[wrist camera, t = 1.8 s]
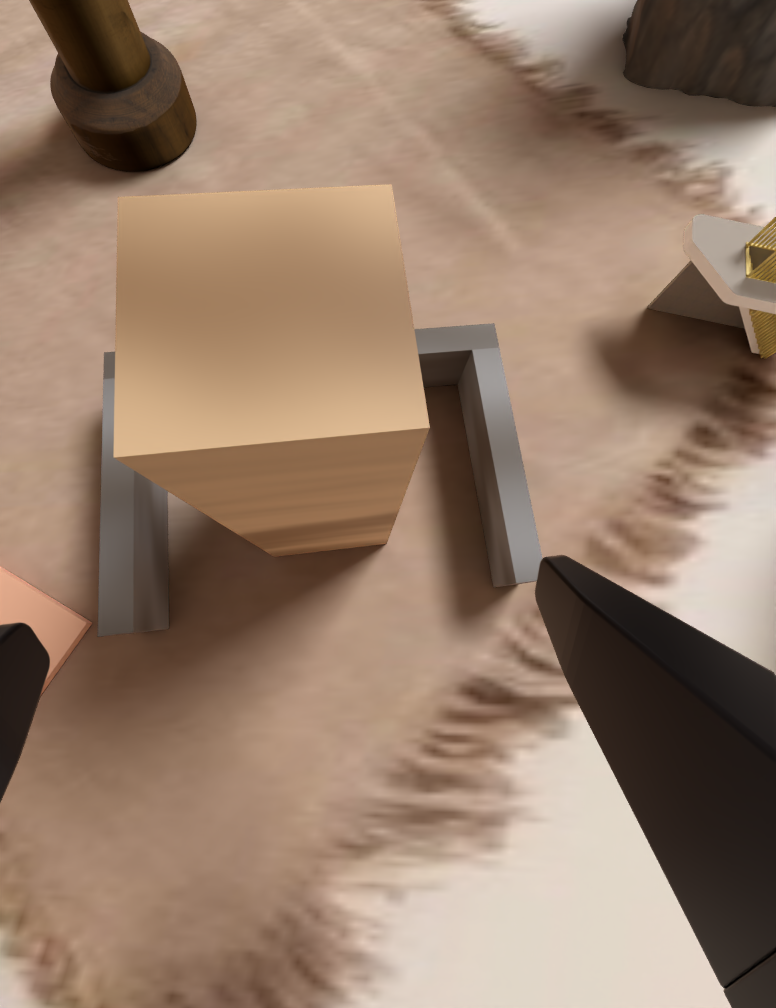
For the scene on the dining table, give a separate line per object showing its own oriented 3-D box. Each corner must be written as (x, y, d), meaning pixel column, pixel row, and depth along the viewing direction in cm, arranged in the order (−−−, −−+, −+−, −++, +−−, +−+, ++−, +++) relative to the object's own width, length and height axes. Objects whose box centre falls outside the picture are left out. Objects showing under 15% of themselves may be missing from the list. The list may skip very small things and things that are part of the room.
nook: (519, 584, 20) (546, 579, 17) (139, 632, 18) (97, 636, 15) (476, 360, 22) (494, 323, 19) (139, 388, 21) (103, 352, 18)
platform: (881, 476, 23) (1084, 424, 16) (539, 406, 22) (610, 325, 16) (865, 282, 26) (1032, 173, 19) (561, 218, 25) (629, 87, 19)
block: (386, 543, 20) (429, 428, 7) (274, 556, 19) (113, 457, 7) (373, 440, 21) (391, 184, 8) (266, 450, 21) (118, 197, 8)
